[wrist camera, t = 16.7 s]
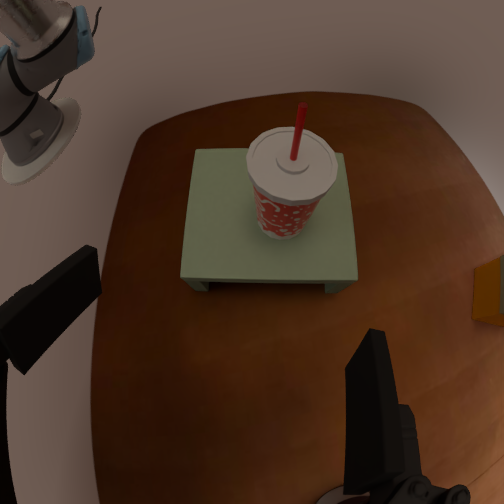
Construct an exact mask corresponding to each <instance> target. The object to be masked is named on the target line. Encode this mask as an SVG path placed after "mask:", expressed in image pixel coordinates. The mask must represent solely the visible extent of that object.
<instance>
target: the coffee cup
mask: <svg viewBox="0 0 504 504" xmlns="http://www.w3.org/2000/svg"><path fill="white" fill-rule="evenodd" d="M369 496H370V493H369V492H367V493H365V494H363V495H343V486H342V487H338V488H335V489H333V490H331V491H329V492H328V493H326V494H325V495H324V496H322V497H321V498H320V500H319V501H318V502H317V504H357V503H359V502H360V501H363V500H365V499H367V498H369Z"/></svg>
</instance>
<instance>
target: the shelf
mask: <svg viewBox="0 0 504 504" xmlns="http://www.w3.org/2000/svg"><path fill="white" fill-rule="evenodd" d="M248 150H249V149H244V148H235V149H196V152H195V158H194V164H193V171H192V178H191V185H190V192H189V199H188V207H187V215H186V224H185V232H184V242H183V252H182V262H181V274H180V277H181V278H182V279H183V280H184V281H185V282H186V283H188V284H189V285H190V286H191V287H192V288H193V289H194V290H195V291H209V282H242V283H325V293H338V292H340V291H341V290H343V289H345V288H346V287H348V286H349V285H351V284H352V283H354V282H356V281H357V280H358V269H357V257H356V246H355V236H354V226H353V218H352V210H351V202H350V195H349V188H348V182H347V176H346V170H345V164H344V158H343V154H342V153H334V154H335V157H336V160H337V163H338V170H337V176H336V180H335V182H334V184H333V186H332V187H331V188H330V190H329V191H328V192H327V193H326V195H325V196H324V197H323V198H321V199H320V201H319V203H318V204H317V206H316V208H315V210H314V211H313V213H312V215H311V216H310V218H309V220H308V221H307V223H306V225H305V227H304V228H303V229H302V231H301V232H300V233H299V234H298V235H297V236H295V237H293V238H291V239H286V240H278V239H275V238H271V237H269V236H268V235H267V234H265V233H264V232H263V231H262V230H261V228H260V226H259V225H258V220H257V213H256V204H255V196H254V188H253V184H252V182H251V181H250V179H249V176H248V169H247V161H246V155H247V153H248Z"/></svg>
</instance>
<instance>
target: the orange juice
mask: <svg viewBox="0 0 504 504" xmlns="http://www.w3.org/2000/svg"><path fill="white" fill-rule="evenodd" d="M472 320H477V321H481V322H485V323H489V324H494V325H498V326H502V327H504V255H502V256H500V257H499V258H497V259H495V260H493V261H491V262H489V263H486V264H484V265H482V266H480V267H478V268H475V269H474V296H473V309H472Z"/></svg>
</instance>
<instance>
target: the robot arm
mask: <svg viewBox="0 0 504 504" xmlns="http://www.w3.org/2000/svg"><path fill="white" fill-rule="evenodd" d="M100 10H101V7H100V8H99V10H98V11H97V14H96V21H95V26H94V30H93V32H92V34H91V29H90V25H89V21H88V17H87V13H86V10H85V7H84V6H77V7H75V8H74V9H72V7H71V5H70V4H69V3H67V2H64V1H58V2H56V1H55V0H0V32H1V33H3V34H4V35H5V36H6V37H7V38H8V39H9V40H10V41H11V42H12V43H11V49H10V47H9V46H8V45H4V46H3V47H1V48H0V139H1V141H2V143H3V146H4V148H5V150H6V152H7V155H8V158H9V159H10V161H11V162H12V163H13V164H14V165H16V166H19V167H20V166H25V165H27V164H29V163H31V162H33V161H34V160H36V159H37V158H38V157H39V156H40V155H42V154H43V153H44V152H45V151H46V150H47V149H48V147H49V146H50V145H51V144H52V143H53V141H54V140H55V138H56V137H57V135H58V134H59V132H60V130H61V128H62V125H63V122H64V115H63V113H62V111H61V110H60V108H59V107H57V106H56V105H55V104H53V103H51V102H50V99H51V98H52V97H53V95H54V94H55V92H56V91H57V89H58V87H59V85H60V83H61V81H62V79H63V77H64V76H65V75H66V74H68V73H70V72H72V71H73V70H75V69H78V68H79V67H80V66H81V65H83V64H85V63H86V62H88V61H90V60H91V59H92V57H93V56H94V52H95V51H94V43H93V38H92V37H93V36H94V34H95V32H96V29H97V25H98V15H99V12H100ZM57 79H59V80H58V82H57V84H56V86H55V88H54V90H53V91H52V93H51V94H50V95H49V97H48V98H47V99H45V98H43V97H42V96H40V95H39V93H38V91H40V90H41V89H43V88H44V87H46V86H47V85H49V84H50V83H52V82H54V81H56V80H57ZM101 293H102V289H101V281H100V273H99V264H98V254H97V249H96V248H94V247H92V246H89V245H85V246H83V247H82V248H80V249H79V250H78V251H76V252H75V253H73V254H72V255H71V256H69V257H68V258H67V259H65V260H64V261H62V262H61V263H60V264H58V265H57V266H56V267H54V268H53V269H52V270H50V271H49V272H48V273H46V274H45V275H44V276H43V277H41V278H40V279H39V280H37V281H36V282H35V283H34V284H33V285H31V284H30V285H28V286H26V287H23V288H21V289H20V290H19V291H18V292H16V293H15V294H14V296H12V297H10V298H9V299H8V301H6V302H4V303H3V304H2V305H1V306H0V504H17V501H16V496H15V492H14V486H13V481H12V475H11V468H10V461H9V452H8V441H7V420H6V395H7V373H8V363H7V362H6V361H7V360H8V359H10V360H11V362H12V364H13V366H14V367H15V368H16V369H17V370H19V371H20V372H21V373H22V374H23V375H25V374H26V373H27V371H28V370H29V369H30V368H31V367H32V366H33V365H34V363H35V362H36V361H37V360H38V359H39V358H40V356H42V354H43V353H44V352H45V351H46V350H47V349H48V348H49V347H50V346H51V345H52V344H53V342H54V341H55V340H56V339H57V338H58V337H59V336H60V335H61V334H62V333H63V332H64V331H65V330H66V329H67V327H68V326H69V325H70V324H71V323H72V322H73V321H74V320H75V319H76V318H77V317H78V316H79V315H80V314H81V313H82V312H83V311H84V310H85V309H86V308H87V307H88V306H89V305H90V304H91V303H92V302H93V301H94V300H95V299H96V298H97V297H98V296H99V295H100V294H101ZM345 379H346V449H345V471H344V486H343V495H363V494H365V493H367V492H369V491H370V496H369V498H367V499H365V500H363V501H360V502H359V503H357V504H470V492H469V490H468V488H467V487H466V486H464V485H459V484H458V485H456V486H454V487H452V488H450V489H445V488H441V487H437V486H433V485H431V482H430V481H429V479H428V478H427V477H425V476H423V475H422V472H421V464H420V454H419V446H418V439H417V431H416V429H415V428H416V424H415V418H414V415H413V413H412V411H411V409H410V407H409V405H402V404H398V398H397V392H396V386H395V380H394V375H393V369H392V364H391V359H390V354H389V350H388V345H387V340H386V336H385V332H384V331H380V330H375V329H371V328H369V330H368V332H367V334H366V335H365V337H364V339H363V340H362V342H361V344H360V345H359V347H358V349H357V350H356V352H355V353H354V355H353V357H352V358H351V360H350V361H349V363H348V364H347V366H346V367H345Z"/></svg>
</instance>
